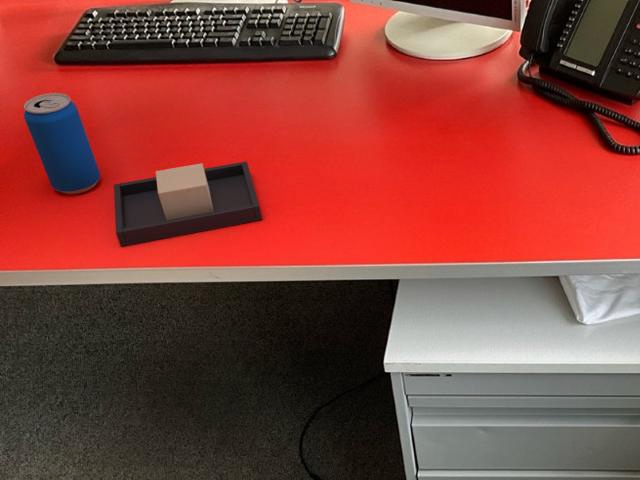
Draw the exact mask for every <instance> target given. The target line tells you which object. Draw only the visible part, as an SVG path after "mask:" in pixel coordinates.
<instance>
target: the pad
mask: <svg viewBox="0 0 640 480" xmlns="http://www.w3.org/2000/svg"><path fill="white" fill-rule="evenodd" d="M204 169H205V168H204V163H202V162H201V163H196V164H195V163H194V164H190V165H185V166H177V167H173V168H166V169H161V170H155V177H156V180H157V189H158V195H159V198H160V201H161V205H162V208H163V211H164V214H165V217H166V220H171V219H176V218H181V217H187V216H192V215H198V214H203V213H208V212H214V210H213V205H212V200H211V195H210V190H209V186H208V182H207V179H206V175H205V171H204Z"/></svg>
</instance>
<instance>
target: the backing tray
mask: <svg viewBox="0 0 640 480" xmlns="http://www.w3.org/2000/svg"><path fill="white" fill-rule="evenodd" d="M204 171H205V175H206V179H207V182H208V186H209V190H210V195H211V200H212V205H213V210H214V212H208V213H203V214H198V215H192V216H187V217H181V218H176V219H171V220H166V217H165V214H164V211H163V208H162V205H161V201H160V198H159V195H158V189H157V180H156V176H154V177H147V178H144V179H136V180H131V181H125V182H119V183H115V184H113V197H114V198H113V199H114V218H115V220H114V221H115V235H116V237H117V239H118V243H119V245H120V247H127V246H131V245H137V244H142V243H143V244H144V243H149V242H153V241H158V240H164V239H169V238H175V237H180V236H185V235H190V234H195V233H200V232H201V233H202V232H206V231H211V230H216V229H222V228H227V227H228V228H229V227H233V226H238V225H243V224H248V223H253V222H259V221H263V216H262V211H261V206H260V203H259V200H258V196H257V192H256V189H255V184H254V182H253V178H252V175H251V170H250V167H249V163H248V161H241V162H235V163H229V164H228V163H227V164H222V165H217V166H211V167H206V168H204Z"/></svg>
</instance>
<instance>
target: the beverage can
mask: <svg viewBox="0 0 640 480" xmlns="http://www.w3.org/2000/svg"><path fill="white" fill-rule="evenodd" d="M23 108H24V113H23V117H24V118H23V119H24V121H25V123H26V126H27V128H28V131H29V134H30V136H31V139H32V141H33V143H34V147H35V148H36V151H37V154H38V156H39V158H40V161H41V164H42V166H43V168H44V169H43V170H44V171H45V173H46V176H47V179H48V181H49V183H50V187H51V188H52V189H53V190H55V191H57V192H61V193H63V194H66V195H76V194H81V193H85V192H88V191H89V190H92V189H93V188H94V187H95V186H96V185H97V183H98V182H99V181H100V179H101V177H102V176H101V172H100V168H99V166H98V163H97V160H96V157H95V154H94V152H93V149H92V147H91V143H90V140H89V137H88V135H87V132H86V129H85V127H84V124H83V121H82V118H81V115H80V113H79V109H78V107H77V105H76V104H75V103H74V102H73V101H72V100H71V97H70V96H69V95H68V94H65V93H59V92H50V93H44V94H39V95H36V96H34V97H31V98H29V99H28V100H27V101H26V102H24V104H23Z"/></svg>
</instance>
